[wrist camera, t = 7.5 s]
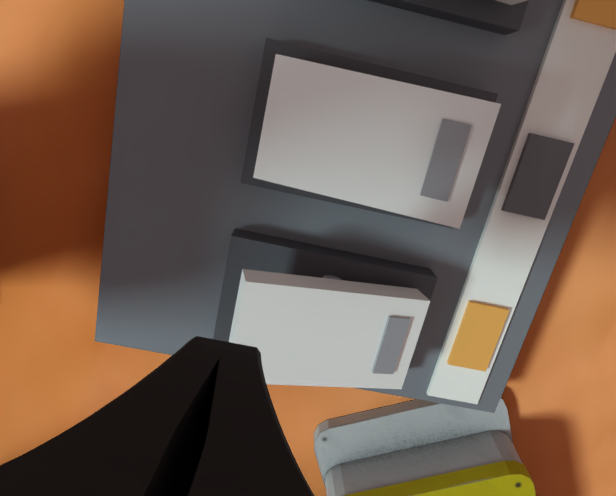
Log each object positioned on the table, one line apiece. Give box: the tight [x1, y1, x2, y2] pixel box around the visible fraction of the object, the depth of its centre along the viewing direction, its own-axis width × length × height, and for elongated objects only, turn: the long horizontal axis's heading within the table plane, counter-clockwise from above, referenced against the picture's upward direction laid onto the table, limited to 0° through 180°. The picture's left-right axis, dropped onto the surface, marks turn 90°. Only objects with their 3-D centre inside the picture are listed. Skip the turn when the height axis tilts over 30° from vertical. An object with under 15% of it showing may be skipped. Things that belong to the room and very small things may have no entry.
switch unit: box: [95, 0, 616, 413], centre depth 16 cm, size 17×20×4 cm
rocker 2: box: [229, 269, 430, 389], centre depth 15 cm, size 6×4×1 cm, turn 77°
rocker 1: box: [253, 54, 501, 229], centre depth 13 cm, size 6×4×1 cm, turn 78°
